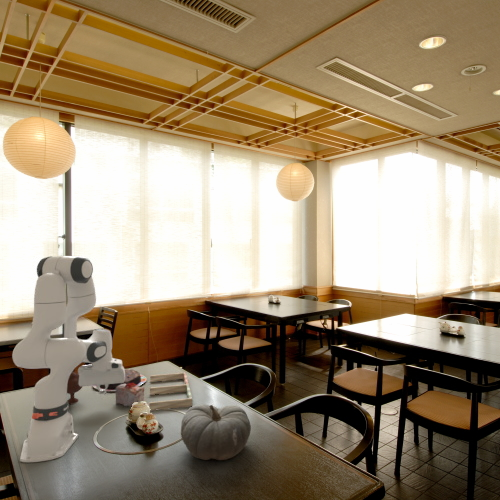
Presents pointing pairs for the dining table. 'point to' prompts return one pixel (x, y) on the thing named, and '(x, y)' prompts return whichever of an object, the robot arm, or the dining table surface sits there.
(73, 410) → the dining table surface
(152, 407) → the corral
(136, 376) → the chocolate cake
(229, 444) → the gourd
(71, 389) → the ice cream bowl
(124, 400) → the food item
